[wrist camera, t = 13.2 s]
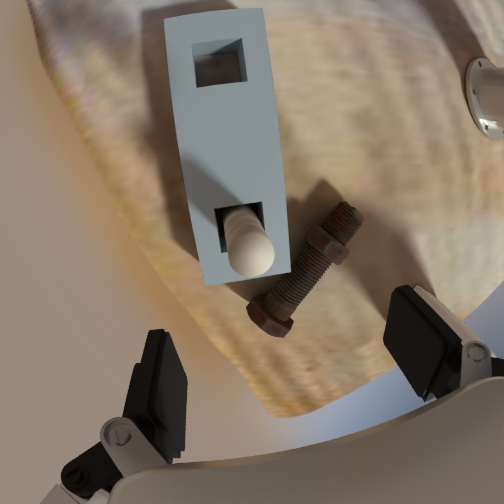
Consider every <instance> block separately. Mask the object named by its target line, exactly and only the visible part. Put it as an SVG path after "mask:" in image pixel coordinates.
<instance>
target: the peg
mask: <svg viewBox="0 0 504 504" xmlns="http://www.w3.org/2000/svg"><path fill="white" fill-rule="evenodd" d="M222 216H223V223H224V230H225V238H226V245H227V251H228V258H229V263H230V266H231V267H232V269H233V270H234V271H235V272H236V273H238V274H239V275H242V276H245V277H255V276H259V275H261V274H263V273H265V272H266V271H267V270H268V269H269V268H270V267H271V265H272V264H273V261H274V256H275V253H274V248H273V246H272V244H271V242H270V240H269V238H268V236H267V235H266V233H265V231H264V229H263V227H262V225H261V223H260V222H259V220H258V218H257V216H256V214H255V212H254V210H253V209H252V207H251V205H250V204H249V203H247V204H241V205H234V206H228V207H224V209H223V212H222Z"/></svg>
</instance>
